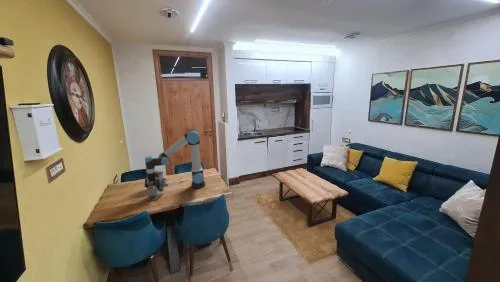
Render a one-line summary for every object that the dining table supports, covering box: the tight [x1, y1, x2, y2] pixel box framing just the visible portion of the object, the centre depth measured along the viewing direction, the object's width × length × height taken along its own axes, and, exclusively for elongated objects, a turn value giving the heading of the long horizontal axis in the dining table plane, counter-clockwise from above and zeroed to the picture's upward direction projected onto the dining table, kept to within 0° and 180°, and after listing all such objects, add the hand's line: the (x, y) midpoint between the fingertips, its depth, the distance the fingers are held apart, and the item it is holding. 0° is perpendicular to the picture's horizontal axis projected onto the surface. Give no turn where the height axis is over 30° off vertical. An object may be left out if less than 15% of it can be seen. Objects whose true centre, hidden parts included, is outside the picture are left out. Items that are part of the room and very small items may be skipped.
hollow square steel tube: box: [146, 186, 161, 197], centre depth 213 cm, size 8×8×7 cm
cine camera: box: [148, 170, 169, 191], centre depth 231 cm, size 9×19×20 cm, turn 78°
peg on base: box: [144, 187, 164, 201], centre depth 213 cm, size 12×12×11 cm
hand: (153, 193), depth 214 cm, fingers closed on hollow square steel tube, 8 cm apart
